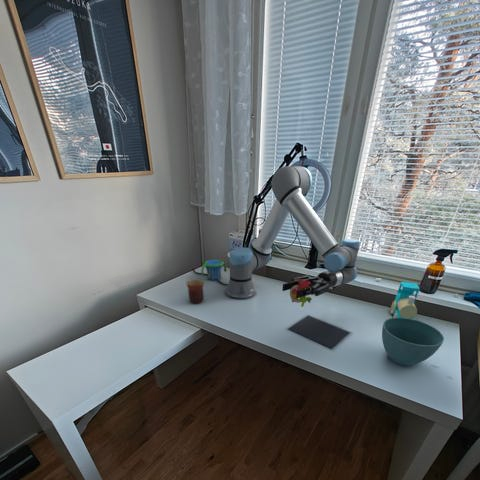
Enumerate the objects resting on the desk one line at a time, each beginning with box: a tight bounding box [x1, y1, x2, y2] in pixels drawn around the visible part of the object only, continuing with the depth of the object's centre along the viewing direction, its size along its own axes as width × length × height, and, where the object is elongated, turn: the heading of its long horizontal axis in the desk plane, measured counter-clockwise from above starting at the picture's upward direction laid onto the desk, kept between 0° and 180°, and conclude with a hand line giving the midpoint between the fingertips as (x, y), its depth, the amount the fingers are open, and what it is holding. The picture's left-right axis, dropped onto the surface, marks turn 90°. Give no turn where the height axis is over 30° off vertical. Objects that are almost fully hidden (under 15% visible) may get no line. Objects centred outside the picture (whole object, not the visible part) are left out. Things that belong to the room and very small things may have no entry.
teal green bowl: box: [381, 317, 445, 366], centre depth 95 cm, size 18×18×12 cm
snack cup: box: [200, 259, 227, 281], centre depth 160 cm, size 16×10×10 cm
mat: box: [288, 315, 350, 350], centre depth 113 cm, size 20×16×1 cm
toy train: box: [390, 281, 420, 320], centre depth 119 cm, size 8×17×15 cm, turn 160°
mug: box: [185, 278, 205, 305], centre depth 135 cm, size 12×9×10 cm
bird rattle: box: [289, 279, 312, 308], centre depth 106 cm, size 6×11×9 cm
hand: (290, 291), depth 104 cm, fingers closed on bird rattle, 7 cm apart
